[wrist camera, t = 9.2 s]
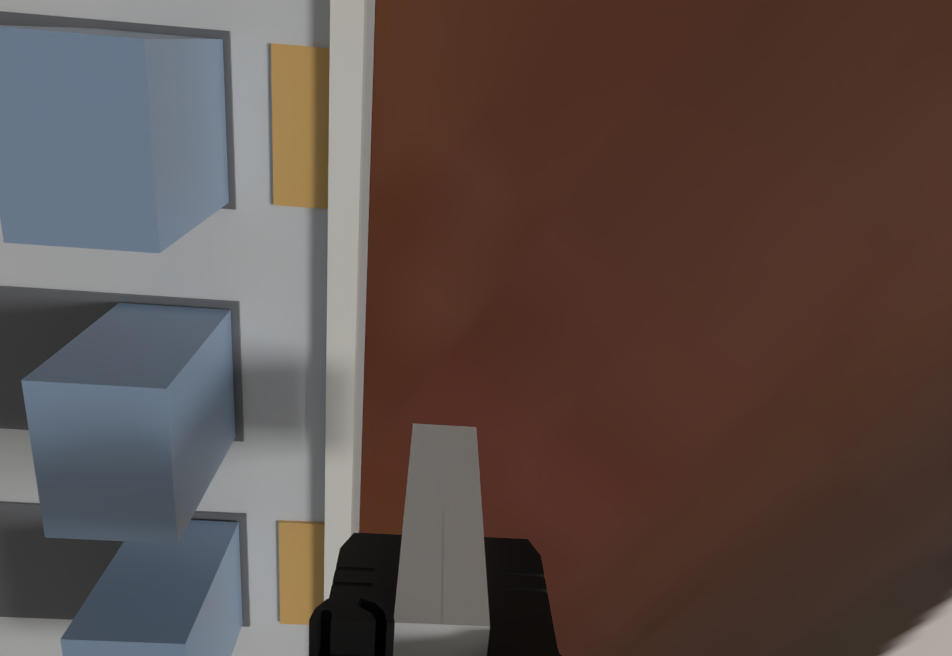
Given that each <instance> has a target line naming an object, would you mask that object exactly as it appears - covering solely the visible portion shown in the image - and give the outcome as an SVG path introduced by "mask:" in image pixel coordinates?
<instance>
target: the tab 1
mask: <svg viewBox="0 0 952 656" xmlns="http://www.w3.org/2000/svg"><path fill="white" fill-rule="evenodd" d="M227 203H229V194H228V167H227V141H226V114H225V87H224V60H223V39H214V38H202V37H190V36H179V35H167V34H155V33H144V32H132V31H120V30H109V29H97V28H70V27H40V26H11V25H0V221H1V228H2V234H3V241H4V243H16V244H30V245H45V246H59V247H74V248H89V249H103V250H118V251H132V252H147V253H160V252H162V251H163V250H165V249H166V248H167V247H169V246H170V245H171V244H173V243H174V242H176V241H177V240H178V239H180V238H181V237H182V236H184V235H185V234H186V233H188V232H189V231H191V230H192V229H193V228H195V227H196V226H197V225H199V224H200V223H201V222H203V221H204V220H206V219H207V218H208V217H210V216H211V215H212V214H214V213H215V212H217V211H218V210H219V209H221V208H222V207H223V206H225V205H226V204H227Z"/></svg>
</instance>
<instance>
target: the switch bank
mask: <svg viewBox="0 0 952 656" xmlns="http://www.w3.org/2000/svg"><path fill="white" fill-rule="evenodd" d="M374 21H375V0H0V25H11V26H40V27H70V28H97V29H109V30H120V31H132V32H144V33H155V34H167V35H179V36H190V37H202V38H214V39H223V60H224V87H225V114H226V141H227V167H228V194H229V203H227V204H226V205H225V206H223V207H222V208H221V209H219V210H218V211H217V212H215V213H214V214H212V215H211V216H210V217H208V218H207V219H206V220H204V221H203V222H201V223H200V224H199V225H197V226H196V227H195V228H193V229H192V230H191V231H189V232H188V233H186V234H185V235H184V236H182V237H181V238H180V239H178V240H177V241H176V242H174V243H173V244H171V245H170V246H169V247H167V248H166V249H165V250H163V251H162V252H160V253H147V252H132V251H118V250H103V249H89V248H74V247H59V246H45V245H30V244H16V243H4V241H3V234H2V228H1V221H0V656H63V654H62V648H61V641H60V639H61V637H62V636H63V634H64V633H65V631H66V630H67V628H68V627H69V625H70V624H71V622H72V621H73V619H74V617H75V616H76V614H77V613H78V611H79V610H80V608H81V607H82V605H83V604H84V602H85V601H86V599H87V597H88V596H89V594H90V593H91V591H92V590H93V588H94V587H95V585H96V584H97V582H98V581H99V579H100V578H101V576H102V574H103V573H104V571H105V570H106V568H107V567H108V565H109V564H110V562H111V561H112V559H113V558H114V556H115V554H116V553H117V551H118V550H119V548H120V547H121V545H122V544H123V542H124V541H108V540H87V539H65V538H45V535H44V528H43V521H42V515H41V508H40V501H39V495H38V488H37V482H36V475H35V468H34V462H33V455H32V448H31V442H30V435H29V428H28V422H27V415H26V408H25V402H24V395H23V389H22V382H21V380H22V379H24V378H25V377H26V376H27V375H29V374H30V373H31V372H32V371H34V370H35V369H36V368H38V367H39V366H40V365H41V364H43V363H44V362H45V361H46V360H48V359H49V358H50V357H51V356H53V355H54V354H55V353H56V352H58V351H59V350H60V349H62V348H63V347H64V346H65V345H67V344H68V343H69V342H70V341H72V340H73V339H74V338H75V337H77V336H78V335H79V334H80V333H82V332H83V331H84V330H85V329H87V328H88V327H89V326H91V325H92V324H93V323H94V322H96V321H97V320H98V319H99V318H101V317H102V316H103V315H104V314H106V313H107V312H108V311H109V310H111V309H112V308H113V307H115V306H116V305H117V304H118V303H132V304H147V305H163V306H178V307H193V308H209V309H224V310H231V335H232V361H233V387H234V413H235V439H234V441H233V443H232V444H231V446H230V448H229V450H228V452H227V454H226V455H225V457H224V459H223V461H222V463H221V465H220V467H219V468H218V470H217V472H216V474H215V476H214V478H213V479H212V481H211V483H210V485H209V487H208V489H207V491H206V492H205V494H204V496H203V498H202V500H201V502H200V503H199V505H198V507H197V509H196V511H195V513H194V515H193V516H192V518H191V520H205V521H225V522H239V543H240V569H241V595H242V621H243V624H242V627H241V630H240V633H239V636H238V638H237V641H236V644H235V647H234V650H233V652H232V655H231V656H309V619H310V617H311V615H312V613H313V611H314V609H315V608H316V607H317V606H319V605H320V604H321V603H322V602H324V601H325V600H326V599H329V595H330V591H331V586H332V583H333V577H334V573H335V570H336V564H337V560H338V555H339V551H340V548H341V547H342V545H343V544H344V543H345V542H346V541H347V540H348V539H349V538H350V537H351V535H352V534H353V533H359V514H360V481H361V448H362V415H363V382H364V350H365V317H366V284H367V251H368V218H369V185H370V152H371V119H372V86H373V54H374Z"/></svg>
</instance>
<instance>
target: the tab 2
mask: <svg viewBox="0 0 952 656" xmlns="http://www.w3.org/2000/svg"><path fill="white" fill-rule="evenodd" d="M21 382H22V389H23V395H24V402H25V408H26V415H27V422H28V428H29V435H30V442H31V448H32V455H33V462H34V468H35V475H36V482H37V488H38V495H39V501H40V508H41V515H42V521H43V528H44V535H45V538H65V539H87V540H108V541H130V542H152V543H173V544H178V542H179V540H180V539H181V537H182V535H183V533H184V531H185V529H186V527H187V526H188V524H189V522H190V520H191V518H192V516H193V515H194V513H195V511H196V509H197V507H198V505H199V503H200V502H201V500H202V498H203V496H204V494H205V492H206V491H207V489H208V487H209V485H210V483H211V481H212V479H213V478H214V476H215V474H216V472H217V470H218V468H219V467H220V465H221V463H222V461H223V459H224V457H225V455H226V454H227V452H228V450H229V448H230V446H231V444H232V443H233V441H234V439H235V413H234V387H233V361H232V335H231V310H224V309H209V308H193V307H178V306H163V305H147V304H132V303H118V304H117V305H116V306H115V307H113V308H112V309H111V310H109V311H108V312H107V313H106V314H104V315H103V316H102V317H101V318H99V319H98V320H97V321H96V322H94V323H93V324H92V325H91V326H89V327H88V328H87V329H85V330H84V331H83V332H82V333H80V334H79V335H78V336H77V337H75V338H74V339H73V340H72V341H70V342H69V343H68V344H67V345H65V346H64V347H63V348H62V349H60V350H59V351H58V352H56V353H55V354H54V355H53V356H51V357H50V358H49V359H48V360H46V361H45V362H44V363H43V364H41V365H40V366H39V367H38V368H36V369H35V370H34V371H32V372H31V373H30V374H29V375H27V376H26V377H25V378H24V379H22V380H21Z"/></svg>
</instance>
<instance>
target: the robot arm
mask: <svg viewBox="0 0 952 656" xmlns="http://www.w3.org/2000/svg"><path fill="white" fill-rule="evenodd" d="M309 656H561V655H560V654H559V651H558V648H557V644H556V639H555V633H554V627H553V622H552V616H551V611H550V605H549V600H548V594H547V589H546V583H545V578H544V572H543V566H542V561H541V556H540V554H539V553H538V552H537V551H536V549H535V548H534V547H533V546H532V544H531V543H530V542H529V540H528V539H510V538H490V537H484V533H483V518H482V504H481V490H480V475H479V461H478V446H477V432H476V427H463V426H446V425H428V424H413V430H412V440H411V450H410V460H409V470H408V480H407V490H406V500H405V510H404V520H403V530H402V535H392V534H371V533H353V534H352V535H351V537H350V538H349V539H348V540H347V541H346V542H345V543H344V544H343V545H342V547H341V548H340V551H339V555H338V560H337V564H336V570H335V573H334V577H333V583H332V586H331V591H330V595H329V599H326V600H325V601H324V602H322V603H321V604H320V605H319V606H317V607H316V608H315V609H314V611H313V613H312V615H311V617H310V619H309Z"/></svg>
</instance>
